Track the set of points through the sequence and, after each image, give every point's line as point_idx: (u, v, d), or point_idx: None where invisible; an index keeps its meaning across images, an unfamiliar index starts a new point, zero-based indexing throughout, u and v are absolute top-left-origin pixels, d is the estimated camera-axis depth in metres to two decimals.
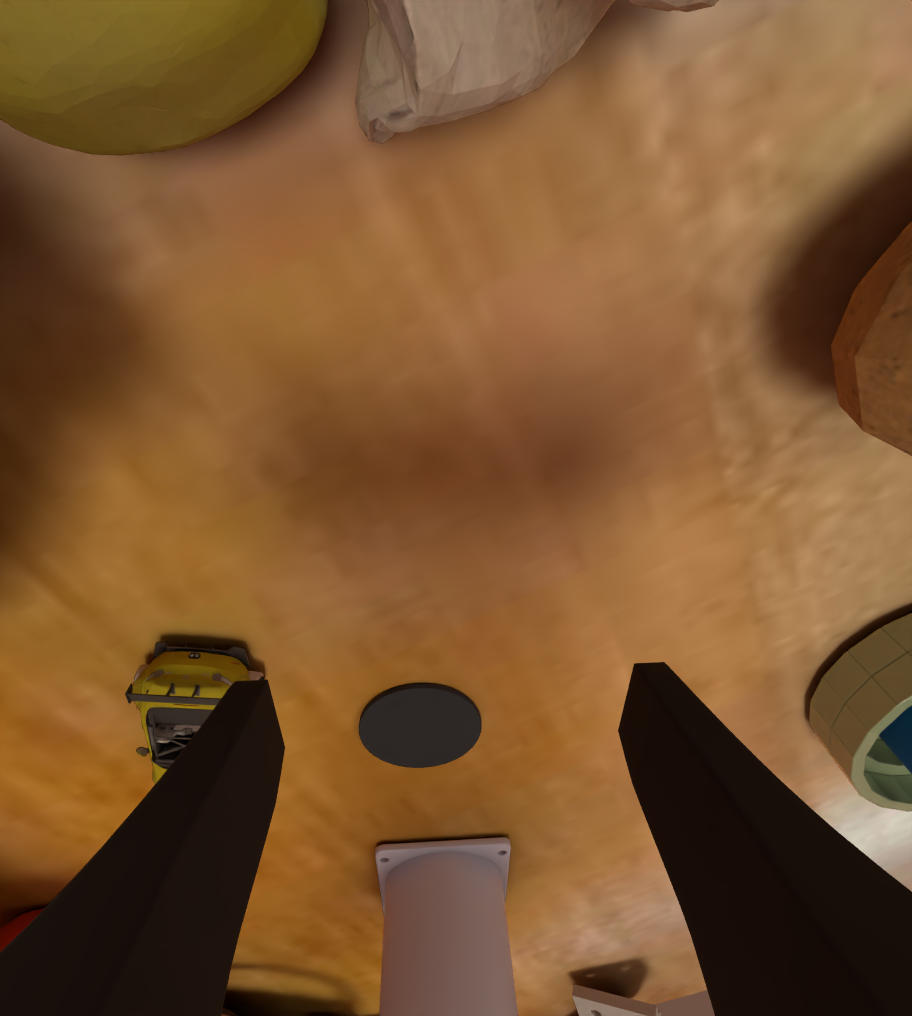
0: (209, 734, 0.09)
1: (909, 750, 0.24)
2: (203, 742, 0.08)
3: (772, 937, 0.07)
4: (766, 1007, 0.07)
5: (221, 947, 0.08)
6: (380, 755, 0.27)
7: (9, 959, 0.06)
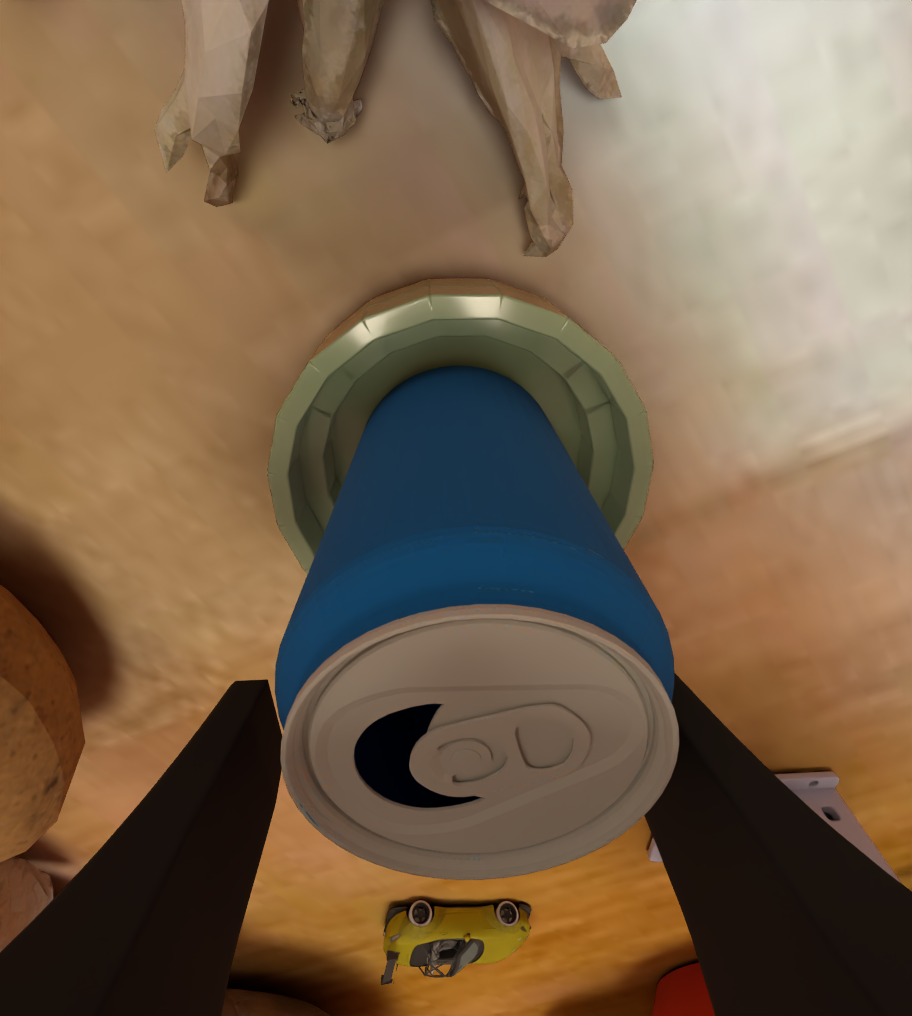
0: (209, 734, 0.09)
1: None
2: (203, 742, 0.08)
3: (772, 937, 0.07)
4: (766, 1007, 0.07)
5: (221, 947, 0.08)
6: None
7: (9, 959, 0.06)
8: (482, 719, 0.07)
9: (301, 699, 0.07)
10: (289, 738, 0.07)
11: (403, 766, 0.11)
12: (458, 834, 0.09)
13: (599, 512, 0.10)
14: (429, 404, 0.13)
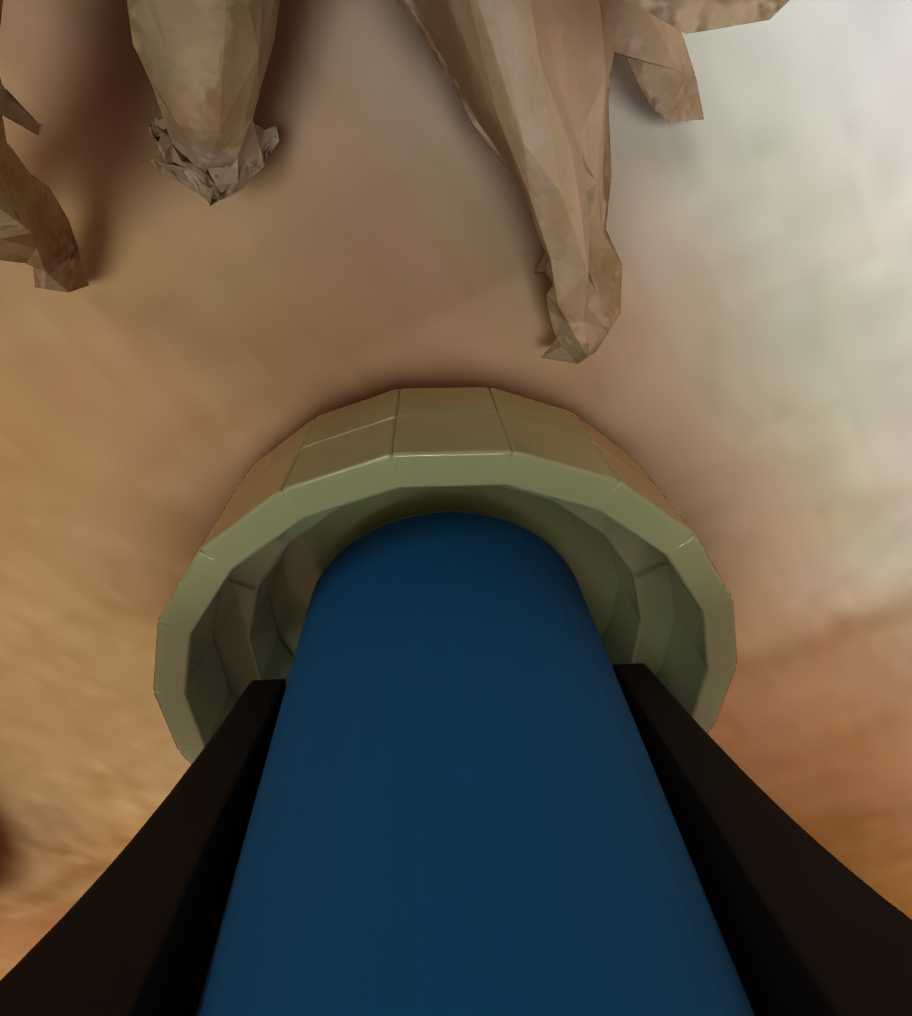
0: (229, 733, 0.09)
1: None
2: (224, 741, 0.08)
3: (740, 939, 0.07)
4: None
5: None
6: None
7: (41, 957, 0.06)
8: None
9: None
10: None
11: None
12: None
13: (726, 985, 0.05)
14: (400, 650, 0.08)
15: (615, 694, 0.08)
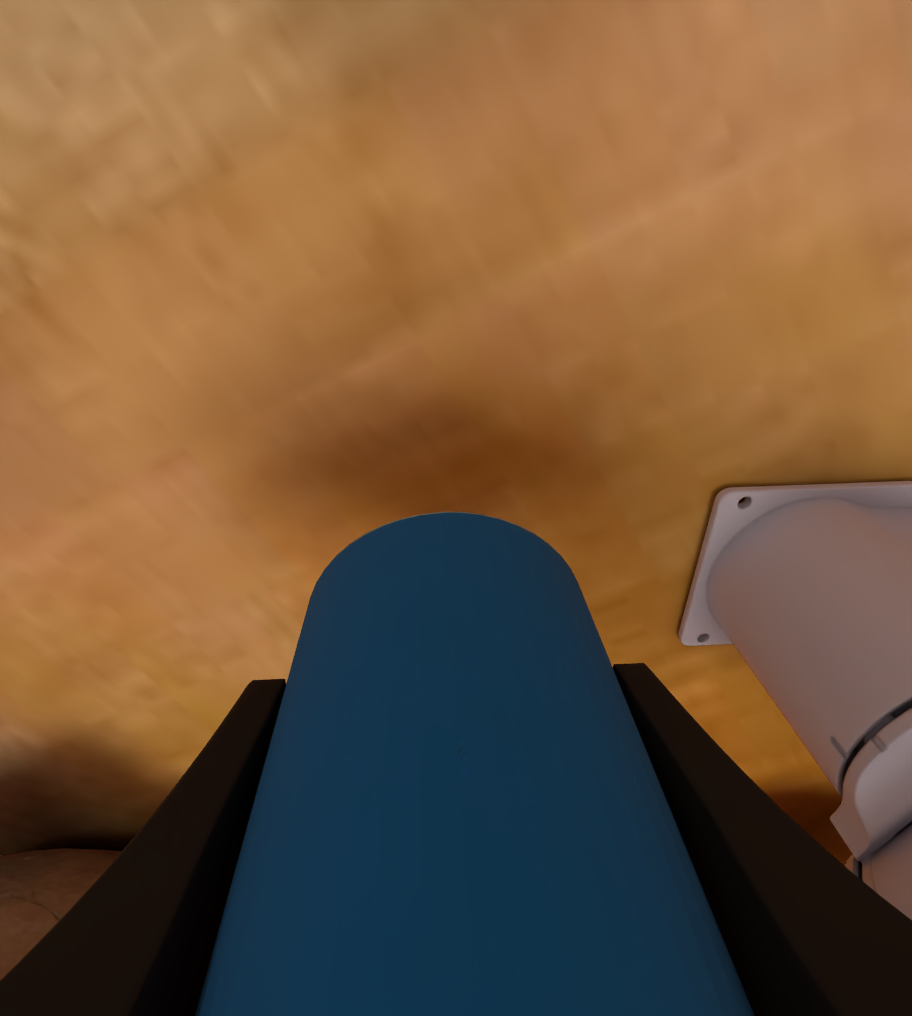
0: (229, 733, 0.09)
1: None
2: (224, 741, 0.08)
3: (740, 939, 0.07)
4: None
5: None
6: None
7: (40, 957, 0.06)
8: None
9: None
10: None
11: None
12: None
13: (727, 988, 0.05)
14: (400, 650, 0.08)
15: (615, 695, 0.08)
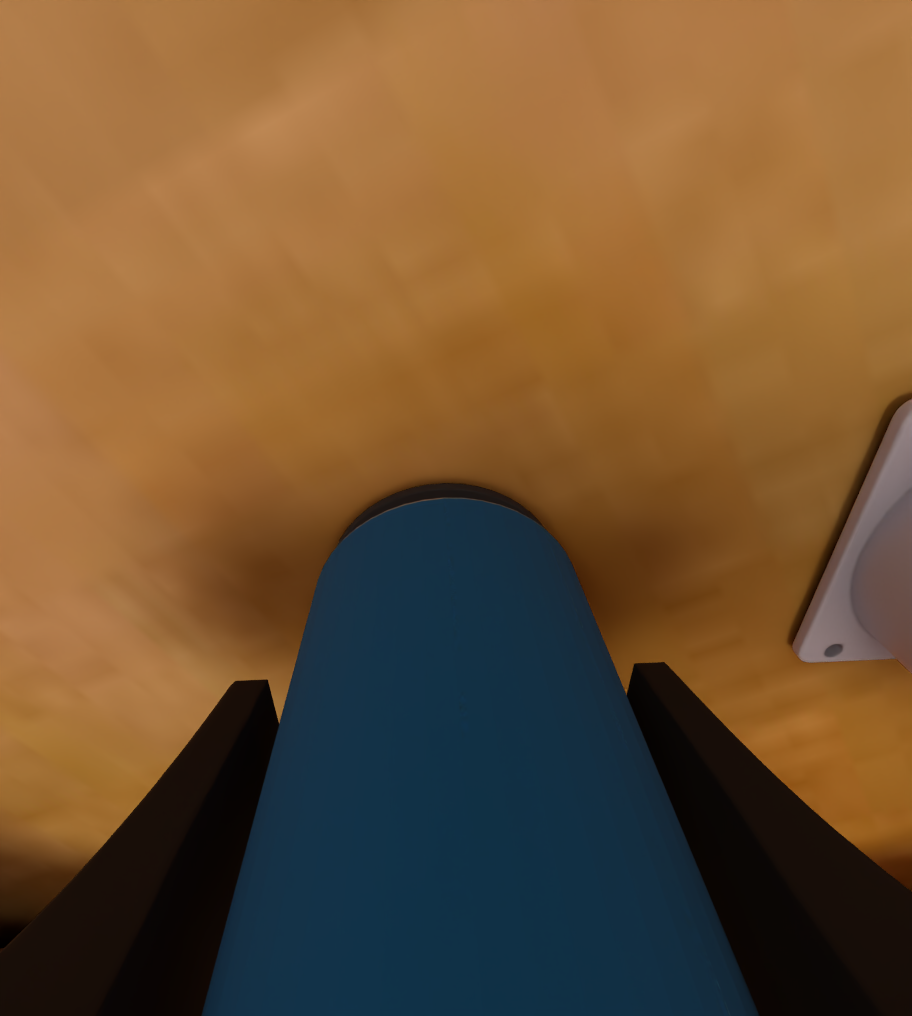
0: (209, 734, 0.08)
1: None
2: (203, 742, 0.08)
3: (772, 937, 0.07)
4: (766, 1007, 0.07)
5: None
6: None
7: (9, 959, 0.06)
8: None
9: None
10: None
11: None
12: None
13: (703, 913, 0.06)
14: (405, 621, 0.08)
15: (606, 665, 0.09)
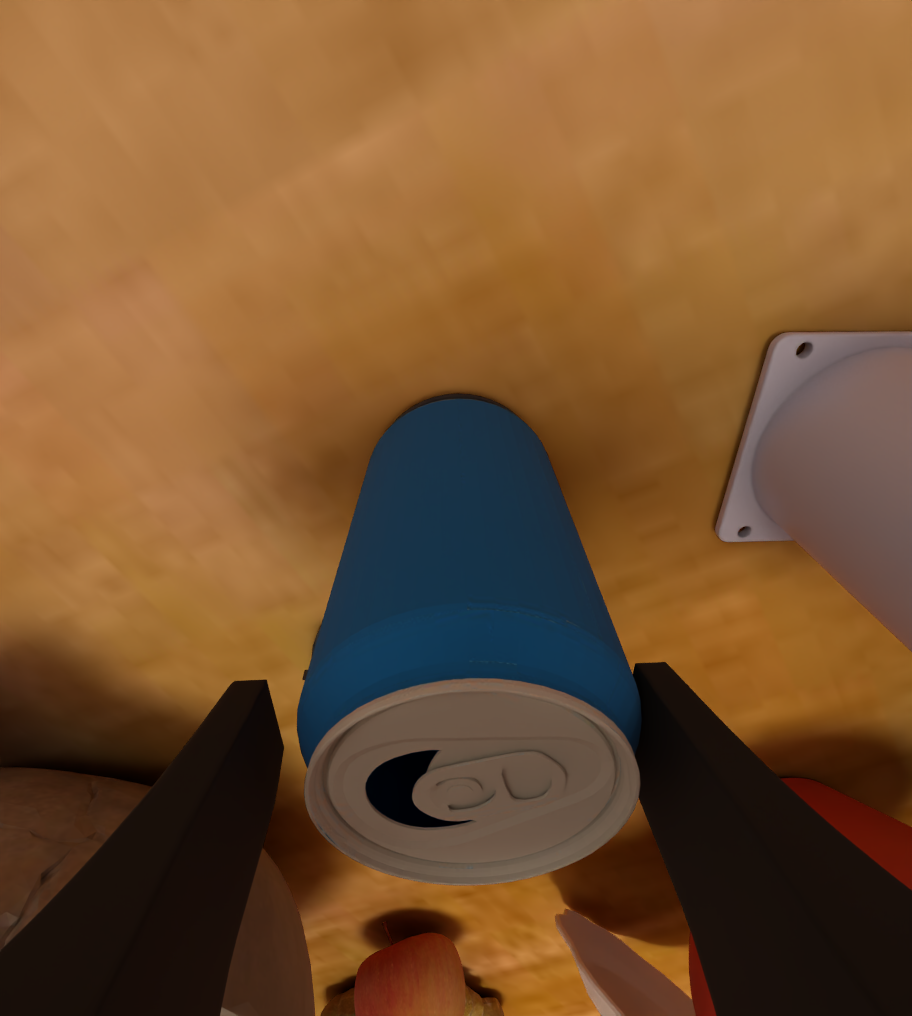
0: (208, 734, 0.09)
1: None
2: (202, 742, 0.08)
3: (774, 937, 0.07)
4: (768, 1007, 0.07)
5: (220, 947, 0.08)
6: None
7: (7, 960, 0.06)
8: (473, 763, 0.09)
9: (321, 750, 0.08)
10: (311, 778, 0.09)
11: (407, 781, 0.12)
12: (454, 848, 0.10)
13: (582, 565, 0.11)
14: (431, 449, 0.14)
15: (554, 486, 0.14)
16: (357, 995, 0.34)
